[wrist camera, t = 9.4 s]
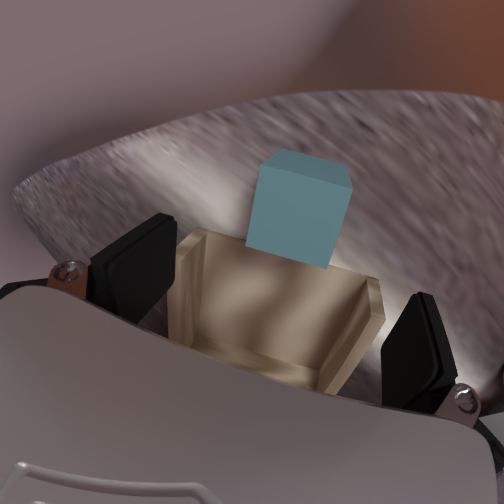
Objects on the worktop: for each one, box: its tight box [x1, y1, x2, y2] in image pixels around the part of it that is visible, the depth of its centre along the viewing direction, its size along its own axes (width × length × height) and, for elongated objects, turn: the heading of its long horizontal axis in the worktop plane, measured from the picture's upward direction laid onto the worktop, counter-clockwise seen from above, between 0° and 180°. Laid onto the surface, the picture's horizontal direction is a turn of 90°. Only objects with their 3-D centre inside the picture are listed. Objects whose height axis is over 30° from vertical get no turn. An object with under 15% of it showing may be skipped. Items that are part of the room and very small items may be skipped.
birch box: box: [167, 227, 386, 395], centre depth 26 cm, size 17×14×6 cm
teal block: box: [245, 149, 353, 269], centre depth 18 cm, size 5×5×7 cm
